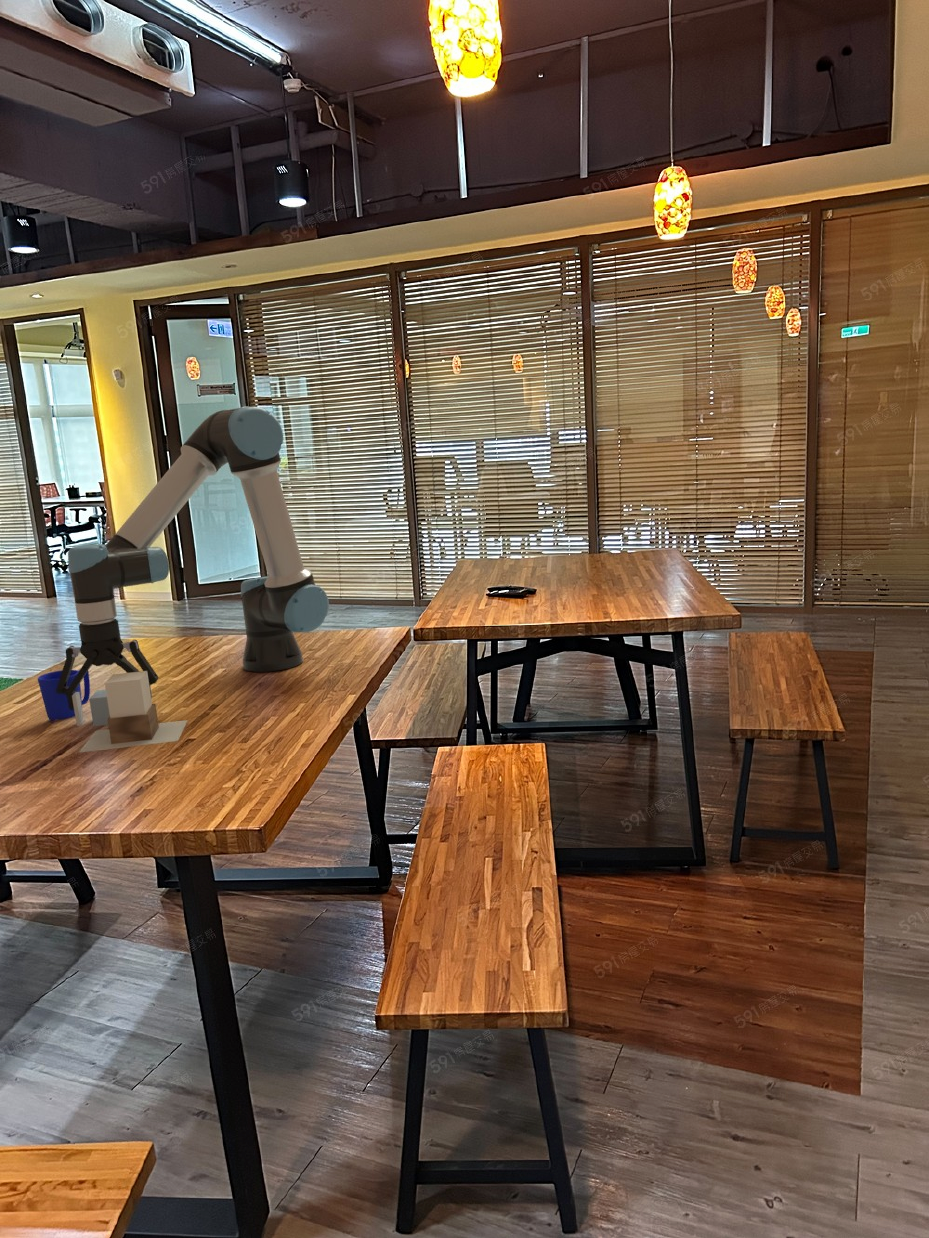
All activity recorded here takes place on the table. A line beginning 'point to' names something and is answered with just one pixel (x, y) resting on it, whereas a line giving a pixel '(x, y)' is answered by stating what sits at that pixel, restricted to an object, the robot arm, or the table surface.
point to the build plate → (163, 735)
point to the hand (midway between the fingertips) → (113, 720)
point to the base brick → (134, 727)
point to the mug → (59, 702)
